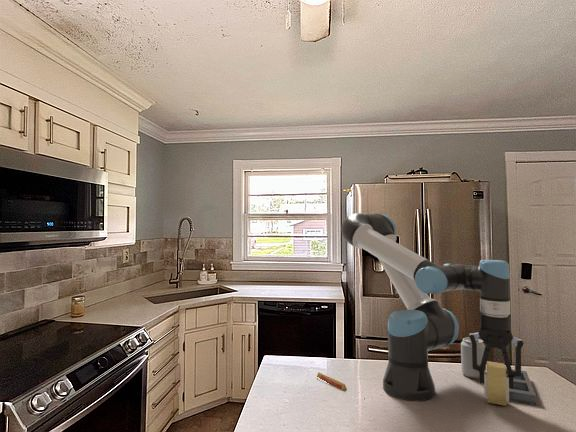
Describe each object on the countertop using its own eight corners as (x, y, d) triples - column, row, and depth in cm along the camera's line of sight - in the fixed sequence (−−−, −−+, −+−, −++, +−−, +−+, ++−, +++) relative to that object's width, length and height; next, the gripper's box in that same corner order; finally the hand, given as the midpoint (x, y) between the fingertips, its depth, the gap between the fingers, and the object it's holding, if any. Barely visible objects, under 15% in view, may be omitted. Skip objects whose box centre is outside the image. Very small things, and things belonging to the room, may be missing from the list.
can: (489, 380, 118) (488, 343, 119) (465, 378, 119) (464, 341, 120) (482, 372, 125) (481, 336, 126) (459, 370, 127) (458, 335, 127)
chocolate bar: (341, 392, 110) (341, 385, 111) (315, 380, 120) (315, 373, 120) (347, 390, 112) (347, 382, 112) (321, 378, 122) (321, 371, 122)
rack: (499, 398, 105) (498, 389, 105) (495, 374, 123) (495, 367, 123) (536, 404, 101) (536, 395, 101) (526, 379, 119) (526, 371, 119)
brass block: (487, 402, 101) (487, 366, 102) (487, 395, 105) (486, 361, 106) (506, 405, 99) (505, 369, 100) (505, 399, 103) (504, 363, 104)
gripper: (460, 313, 104) (461, 396, 103) (533, 321, 96) (535, 410, 95) (461, 308, 111) (462, 386, 110) (529, 315, 103) (531, 398, 102)
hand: (496, 397), depth 102 cm, fingers closed on brass block, 4 cm apart
